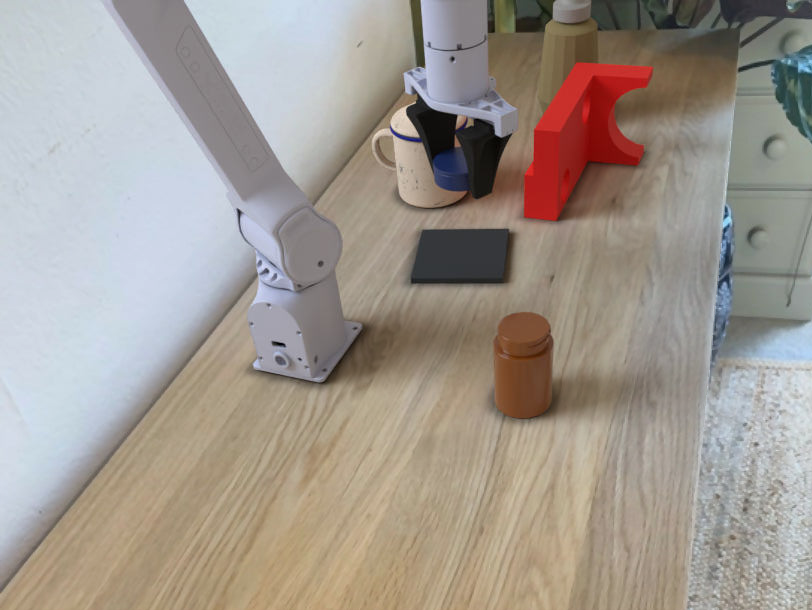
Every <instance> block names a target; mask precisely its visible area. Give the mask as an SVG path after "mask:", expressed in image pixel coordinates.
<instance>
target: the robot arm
mask: <svg viewBox="0 0 812 610" xmlns="http://www.w3.org/2000/svg"><path fill="white" fill-rule="evenodd" d="M100 2H101V4H102V5H103V6H104V8H105V9H106V11H107V13H108V14H109V15H110V17H111V18H112V20H113V21H114V23H115V24H116V26H117V28H118V29H119V30H120V32H121V33H122V34H123V36H124V37H125V39H126V40H127V43H128V44H129V45H130V46H131V48H132V50H133V51H134V52H135V54H136V55H137V57H138V58H139V60H140V62H141V63H142V64H143V66H144V67H145V69H146V70H147V72H148V74H149V75H150V76H151V78H152V79H153V81H154V82H155V84H156V85H157V86H158V88H159V90H160V91H161V93H162V94H163V96H164V97H165V98H166V100H167V101H168V103H169V105H170V106H171V107H172V109H173V110H174V112H175V113H176V115H177V116H178V118H179V120H180V121H181V123H182V125H184V127H185V128H186V129H187V131H188V133H189V134H190V136H191V137H192V139H193V140H194V142H195V143H196V145H197V146H198V147H199V149H200V150H201V152H202V153H203V155H204V157H205V158H206V160H207V161H208V162H209V164H210V165H211V167H212V168H213V170H214V171H215V174H217V176H218V177H219V179H220V181H222V183H223V185H224V186H225V187H226V189H227V190H226V191H225V197H226V199H227V200H228V202H229V203H230V205H231V207H232V210H233V213H234V217H235V226H236V229H237V232H238V234H239V236H240V238H241V239H242V240H243V241H244V242H245V243H246V244H248V245H249V246H251V248H254V253H255V256H256V257H255V258H256V259H255V266H256V271H257V275H258V278H257V279H258V286H257V290H256V294H255V296H254V299H253V301H252V303H251V305H250V306H249V308H248V311H247V315H246V316H247V317H246V320H247V325H248V329H249V331H250V335H251V338H252V342H253V344H254V349H255V352H256V357H257V358H256V359H255V361H254V362H253V363H252V367H253V369H254V370H257V371H262V372H267V373H272V374H276V375H282V376H285V377H290V378H294V379H295V378H296V379H300V380H305V381H310V382H314V383H319V384H320V383H323V382H325V381H326V380H327V378H328V377H329V376H330V374H331V373H332V371H333V370H334V369H335V368H336V366H337V365H338V363H339V362H340V360H341V359H342V358H343V356H344V355H345V353H346V352H347V351H348V349H349V348H350V347H351V346H352V344H353V343H354V341H355V340H356V338H357V337H358V336H359V334H360V333H361V331H362V330H363V324H362V323H361V322H356V321H352V320H345V317H344V313H343V307H342V306H343V305H342V301H341V294H340V289H339V284H338V283H339V282H338V278H337V272H336V268H337V265H338V264H339V262H340V260H341V257H342V253H343V245H344V243H343V236H342V233H341V230H340V229H339V227H338V225H337V224H336V223H335V222H334V220H332V219H330V218H329V217H327V216H326V215H324V214H321V213H319V212H318V211H317V210H316V208H315V206H314V205H313V203H312V201H311V200H310V198H309V197H308V196H307V195H306V193H305V192H304V191H303V190H302V189H301V188H300V187H299V186H298V184H297V183H296V182H295V181H294V180H293V179H292V178H291V176H290V175H289V174H288V173H287V172H286V170H285V169H284V167H283V165H282V164H281V162H280V161H279V159H278V157H277V155H276V154H275V153H274V152H275V151H274V150H273V149H272V147H271V146H270V144H269V142H268V140H267V139H266V137H265V135H264V133H263V132H262V130H261V129H260V127H259V125H258V123H257V122H256V119H255V118H254V117H253V115H252V113H251V112H250V110H249V108H248V106H247V105H246V103H245V101H244V99H243V98H242V96H241V94H240V93H239V92H238V90H237V88H236V86H235V84H234V82H233V81H232V79H231V78H230V76H229V75H228V73H227V71H226V69H225V67H224V66H223V64H222V62H221V61H220V59H219V58H218V55H217V54H216V52H215V51H214V49H213V48H212V45H211V44H210V42H209V40H208V38H207V37H206V36H205V34H204V32H203V30H202V28H201V26H200V25H199V23H198V22H197V21H196V18H195V17H194V16H193V14H192V12H191V10H190V8H189V7H188V6H187V3H186V1H185V0H100ZM420 9H421V10H420V11H421V23H422V37H423V52H424V64H425V65H424V67H425V68H424V67H422V66H417V67H415V68H412V69H410V70H407V71H405V72H403V79H404V90H405V91H404V92H405V94H407V95H409V96H415V95H416V100H415V102H416V103H415V104H412V103H411V104H412V105H410V104H409V105H410V106H408V107H407V108H406V115H407V117H408V118H409V120H410V121H411V122H412V124H413V126H414V127H415V129H416V131H417V133H418V135H419V137H420V139H421V141H422V143H423V146H424V148H425V151H426V154H427V157H428V160H429V163H430V166H431V169H432V172H433V175H434V169H433V160H434V158H435V157H436V155H438V154H439V153H441V152H442V151H444V150H447V149H450V148H454V147H455V131H456V123H457V117H458V115H462V116H467V118H468V119H471V120H472V123H473V125H472V124H471V125H469V126H466V128H464V129H462V130H460V131H458V132H456V138H457V139H458V141H459V143H460V145H461V148H462V150H463V153H464V156H465V159H466V164H467V169H468V177H469V186H470V191H469V192H470V195H471V197H472V198H473V199H474V200H480V199H482V198H485V197H486V196H488V195H490V194H493V189H494V186H495V180H496V176H497V172H498V168H499V165H500V162H501V159H502V156H503V154H504V152H505V149H506V147H507V145H508V143H509V141H510V139H511V137H512V135H514V133H516V132H518V131H519V108H517V107H514V106H513V105H511V104H509V103H508V102H507V101H506V100H505V99H504V97H503V96H501V94H500V93H499V92H498V91H497V90H496V89H495V88H496V87H497V78H495V77H494V76H491V75H490V73H489V70H490V69H489V29H488V28H489V26H488V0H420Z"/></svg>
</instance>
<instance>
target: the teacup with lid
mask: <svg viewBox="0 0 812 610" xmlns="http://www.w3.org/2000/svg"><path fill="white" fill-rule="evenodd" d="M415 103H416V101H414V102H411V103H410V104H407V105H405V106H403V107H400V108H399V109H398V110H397V111H395V112H394V114H393V115H392V117H391V119H390V122H389V123H390V124H389V128H387V127H385V128H382V129H380V130H378V131H377V132H376V133H375V134H374V135H373V137H372V140H371V148H372V153H373V155H374V157H375V160H376V161H377V162H378V163H379V165H380V166H381V167H383V168H384V169H386V170H388V171H391V172H395V173H396V177H397V186H398V193H399V196H400V199H402V200H403V201H404V202H405V203H407V205H410V206H413V207H417V208H423V209H424V208H426V209H433V208H441V207H446V206H449V205H452V204H455V203H456V202H458V201H460V200H461V199H463V198H464V197H465V195H467V193H468V191H463V192H456V191H448V190H445V189H442V188H440V187H439V186H438V185H437V184H436V183H435V181H434V175H433V172H432V169H431V166H430V163H429V160H428V157H427V154H426V151H425V148H424V146H423V143H422V141H421V139H420V137H419V135H418V133H417V131H416V129H415V127H414V126H413V124H412V122H411V121H410V120H409V118H408V117H407V115H406V108H407V107H408V106H410V105H412V104H415ZM468 123H469V117H467V116H462V115H458V117H457V123H456V131H455V147H461V145H460V143H459V141H458V139H457V138H456V132H458V131H460V130H462V129H464V128H467V125H468ZM382 138H392V140H393V150H394V158H395V162H393V161H391V160H389V159H388V158H387V157H386V156H385V154H384V153H383V151H382V149H381V145H380V139H382Z"/></svg>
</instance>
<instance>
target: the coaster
mask: <svg viewBox="0 0 812 610" xmlns="http://www.w3.org/2000/svg"><path fill="white" fill-rule="evenodd" d="M509 236H510V228H447V229H446V228H445V229H443V228H439V229H438V228H437V229H432V228H431V229H422V230H421V234H420V238H419V242H418V245H417V249H416V250H417V251H416V254H415V258H414V262H413V266H412V270H411V275H410V283H411V284H416V283H417V284H465V283H466V284H503V283H504V279H505V278H504V277H505V270H506V269H505V268H506V262H507V261H506V260H507V253H508V245H509Z"/></svg>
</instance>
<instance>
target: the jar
mask: <svg viewBox="0 0 812 610" xmlns="http://www.w3.org/2000/svg"><path fill="white" fill-rule="evenodd" d="M551 333H552V328H551V324H550V323H549V321H548V320H547V319H546V318H545V317H544V316H542V315H540V314H538V313H536V312H531V311H518V312H513V313H510V314H508V315H506V316H505V317H503V318H502V319H501V320H500V321H499V323H498V325H497V334H496V335H495V337H494V338H493V342H492V346H493V347H492V349H493V354H492V355H493V385H494V386H493V387H494V389H493V391H494V404H495V406H496V408H497V410H498V411H500V412H501V413H502V414H503V415H505V416H507V417H511V418H515V419H530V418H535V417H537V416H540V415H543V414H544V413H546V411H547V410H548V409H549V408H550V407H551V404H552V399H553V373H554V349H555V341H554V338H553V335H552V334H551Z"/></svg>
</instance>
